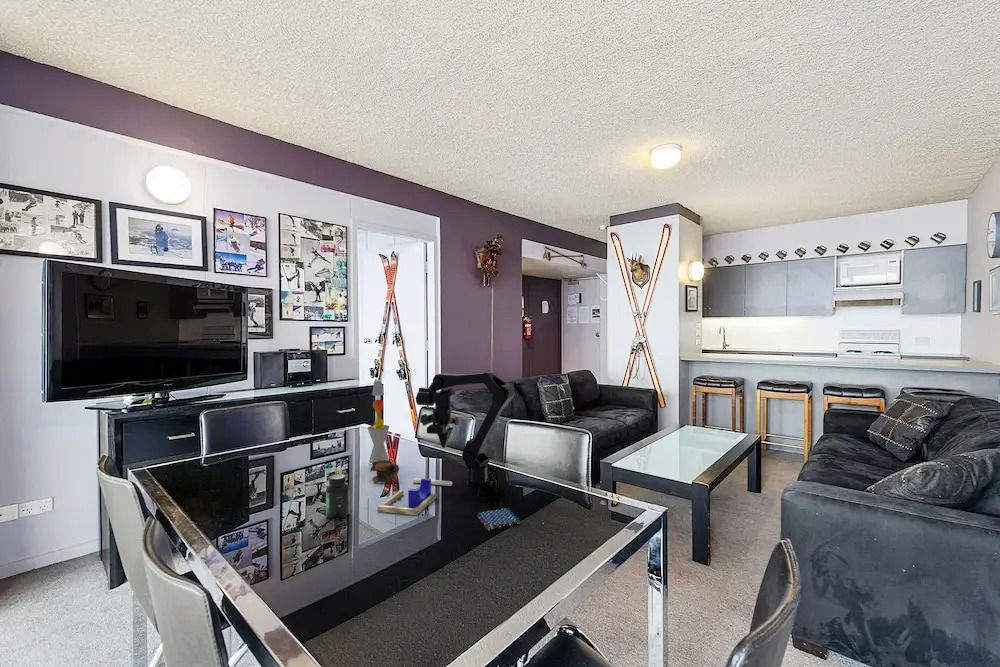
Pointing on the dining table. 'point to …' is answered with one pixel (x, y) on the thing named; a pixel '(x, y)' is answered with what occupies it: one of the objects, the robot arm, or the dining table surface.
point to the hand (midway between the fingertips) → (443, 447)
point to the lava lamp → (378, 427)
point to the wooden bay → (402, 510)
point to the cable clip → (419, 493)
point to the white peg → (435, 482)
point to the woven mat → (497, 518)
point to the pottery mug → (384, 470)
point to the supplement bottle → (337, 497)
